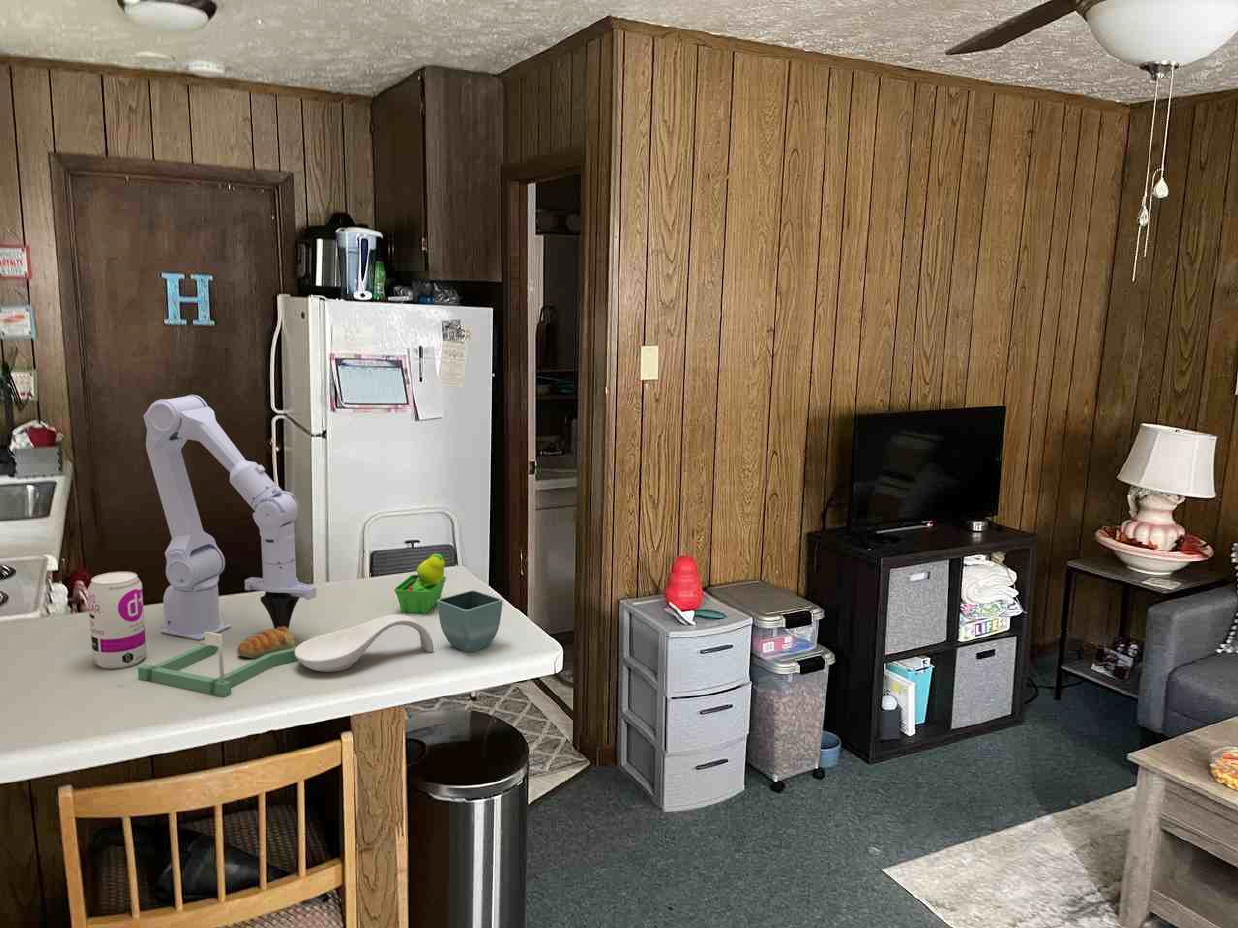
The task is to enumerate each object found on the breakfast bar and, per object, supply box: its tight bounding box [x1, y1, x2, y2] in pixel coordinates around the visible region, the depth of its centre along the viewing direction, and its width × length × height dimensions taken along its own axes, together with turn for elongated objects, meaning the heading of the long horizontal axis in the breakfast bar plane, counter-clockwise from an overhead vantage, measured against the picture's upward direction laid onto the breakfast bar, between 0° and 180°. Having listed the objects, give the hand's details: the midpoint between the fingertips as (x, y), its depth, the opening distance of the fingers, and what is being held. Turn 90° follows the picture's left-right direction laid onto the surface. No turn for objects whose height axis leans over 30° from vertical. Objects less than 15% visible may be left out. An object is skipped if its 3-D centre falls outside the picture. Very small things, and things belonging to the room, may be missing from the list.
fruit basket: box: [394, 553, 447, 614], centre depth 201 cm, size 11×9×11 cm
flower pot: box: [436, 589, 504, 653], centre depth 179 cm, size 9×9×9 cm
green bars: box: [137, 632, 300, 698], centre depth 166 cm, size 19×18×10 cm
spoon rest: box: [295, 614, 434, 673], centre depth 172 cm, size 24×12×7 cm, turn 121°
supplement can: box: [87, 571, 148, 670], centre depth 168 cm, size 8×8×15 cm
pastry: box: [236, 626, 296, 659], centre depth 175 cm, size 9×7×4 cm
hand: (282, 631), depth 181 cm, fingers closed
